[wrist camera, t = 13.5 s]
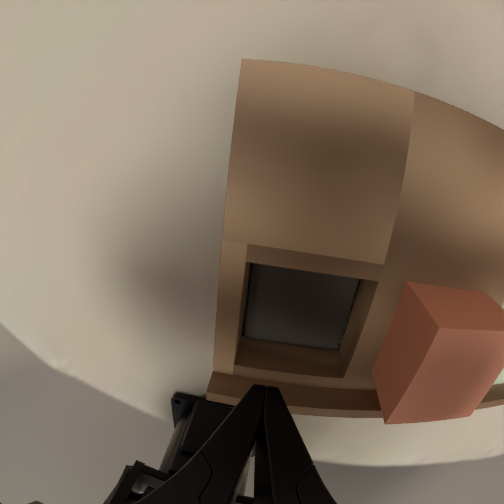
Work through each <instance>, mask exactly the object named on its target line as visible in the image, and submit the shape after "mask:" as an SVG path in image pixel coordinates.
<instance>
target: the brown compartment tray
mask: <svg viewBox="0 0 504 504" xmlns="http://www.w3.org/2000/svg"><path fill="white" fill-rule="evenodd" d="M250 262H251V263H253V268H252V276H251V284H250V292H249V300H248V308H247V316H246V323H245V331H244V337H242V336H241V335H242V327H243V319H244V311H245V302H246V294H247V286H248V278H249V270H250ZM359 279H361V280H360V283H359V287H358V290H357V294H356V297H355V300H354V304H353V307H352V310H351V313H350V316H349V319H348V323H347V326H346V329H345V332H344V335H343V338H342V340H341V343H340V346H339V349H337V348H338V345H339V342H340V339H341V336H342V333H343V330H344V327H345V324H346V321H347V318H348V315H349V312H350V308H351V305H352V302H353V298H354V295H355V292H356V288H357V285H358V281H359ZM406 282H414V283H421V284H428V285H435V286H442V287H449V288H456V289H463V290H470V291H478V292H485V293H487V294H488V295H489V296H490V297H492V298H493V299H494V300H495V301H496V302H497V303H498V304H499V305H500V306H501V307H502V308H503V309H504V130H503V129H501V128H499V127H497V126H495V125H494V124H492V123H490V122H488V121H486V120H484V119H481V118H479V117H477V116H475V115H473V114H471V113H469V112H466V111H464V110H462V109H460V108H457V107H455V106H452V105H450V104H448V103H445V102H443V101H440V100H437V99H435V98H432V97H429V96H427V95H424V94H421V93H418V92H415V91H412V90H409V89H406V88H403V87H400V86H396V85H393V84H390V83H386V82H383V81H379V80H375V79H371V78H367V77H363V76H359V75H355V74H350V73H346V72H341V71H336V70H331V69H325V68H320V67H314V66H307V65H300V64H293V63H285V62H276V61H265V60H252V59H242V62H241V70H240V77H239V85H238V93H237V101H236V109H235V117H234V126H233V134H232V143H231V152H230V162H229V171H228V181H227V191H226V202H225V212H224V224H223V235H222V247H221V259H220V272H219V286H218V300H217V315H216V331H215V348H214V367H213V374H212V377H211V379H210V382H209V385H208V388H207V391H206V400H210V401H215V402H220V403H225V404H230V405H235V406H236V405H237V404H238V403H239V401H240V400H241V399H242V398H243V396H244V395H245V394H246V392H247V391H248V390H249V389H250V387H251V386H252V385H253V384H260V385H265V388H266V386H274V387H278V388H279V389H280V392H281V394H282V396H283V398H284V401H285V403H286V405H287V407H288V409H289V412H290V413H291V414H301V415H313V416H327V417H350V418H383V414H382V410H381V406H380V402H379V398H378V394H377V391H376V387H375V383H374V379H373V376H372V372H371V370H372V368H373V365H374V363H375V361H376V359H377V357H378V354H379V352H380V350H381V348H382V345H383V343H384V340H385V338H386V336H387V333H388V331H389V328H390V326H391V323H392V321H393V318H394V315H395V313H396V310H397V307H398V305H399V302H400V299H401V296H402V293H403V291H404V288H405V285H406ZM503 404H504V368H503V370H502V371H501V373H500V374H499V376H498V377H497V379H496V381H495V382H494V384H493V385H492V387H491V388H490V389H489V391H488V392H487V394H486V395H485V397H484V398H483V399H482V401H481V402H480V403H479V405H478V406H477V408H476V409H475V410H477V409H482V408H488V407H493V406H498V405H503Z"/></svg>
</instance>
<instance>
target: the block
mask: <svg viewBox="0 0 504 504" xmlns="http://www.w3.org/2000/svg"><path fill="white" fill-rule="evenodd" d="M503 368H504V309H503V308H502V307H501V306H500V305H499V304H498V303H497V302H496V301H495V300H494V299H493V298H492V297H490V296H489V295H488V294H487V293H485V292H478V291H470V290H463V289H456V288H449V287H442V286H435V285H428V284H421V283H414V282H406V285H405V288H404V291H403V293H402V296H401V299H400V302H399V305H398V307H397V310H396V313H395V315H394V318H393V321H392V323H391V326H390V328H389V331H388V333H387V336H386V338H385V340H384V343H383V345H382V348H381V350H380V352H379V354H378V357H377V359H376V361H375V363H374V365H373V368H372V370H371V372H372V376H373V379H374V383H375V387H376V391H377V394H378V398H379V402H380V406H381V410H382V414H383V419H384V423H385V424H401V423H417V422H428V421H438V420H447V419H454V418H461V417H467V416H470V415H471V414H472V413H473V411H474V410H475V409H476V408H477V406H478V405H479V403H480V402H481V401H482V399H483V398H484V397H485V395H486V394H487V392H488V391H489V389H490V388H491V387H492V385H493V384H494V382H495V381H496V379H497V377H498V376H499V374H500V373H501V371H502V370H503Z"/></svg>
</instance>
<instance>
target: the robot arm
mask: <svg viewBox="0 0 504 504" xmlns="http://www.w3.org/2000/svg"><path fill="white" fill-rule="evenodd" d="M171 404H172V412H173V420H174V428H175V431H174V433H173V436H172V438H171V441H170V443H169V446H168V448H167V451H166V453H165V456H164V459H163V461H162V464H161V466H160V469H159V470H156V469H154V468H151V467H149V466H146V465H145V463H142V462H140V461H138V460H136V462H135V464H134V466H128V465H127V466H126V467H125V469H124V471H123V474H122V476H121V478H120V480H119V482H118V484H117V485H116V487H115V488H114V489H113V491H112V492H111V494H110V495H109V496H108V498H107V500H105V502H104V503H103V504H337V503H336V502H335V500H334V499H333V498H332V496H331V494H330V493H329V491H328V490H327V488H326V487H325V485H324V483H323V481H322V479H321V477H320V476H319V473H318V471H317V470H316V467H315V465H313V461H312V459H311V457H310V455H309V453H308V451H307V448H306V446H305V444H304V442H303V440H302V438H301V436H300V433H299V431H298V429H297V427H296V425H295V423H294V420H293V418H292V416H291V414H290V412H289V409H288V407H287V405H286V403H285V401H284V398H283V396H282V394H281V392H280V389H279V388H278V387H274V386H266V388H265V385H260V384H253V385H252V386H251V387H250V389H249V390H248V391H247V392H246V394H245V395H244V396H243V398H242V399H241V400H240V401H239V403H238V404H237V405H236V406H233V405H228V404H223V403H218V402H213V401H208V400H204V399H199V398H195V397H191V396H187V395H182V394H178V393H176V394H173V396H172V398H171ZM254 455H255V472H254V473H255V474H254V498H252V497H248V496H244V492H245V487H246V481H247V475H248V469H249V463H250V458H251V457H253V456H254ZM140 491H142V492H144V493H143V494H142V493H141V494H139V493H140ZM0 504H1V503H0ZM29 504H43V503H41V502H39V501H34V502H31V503H29Z"/></svg>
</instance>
